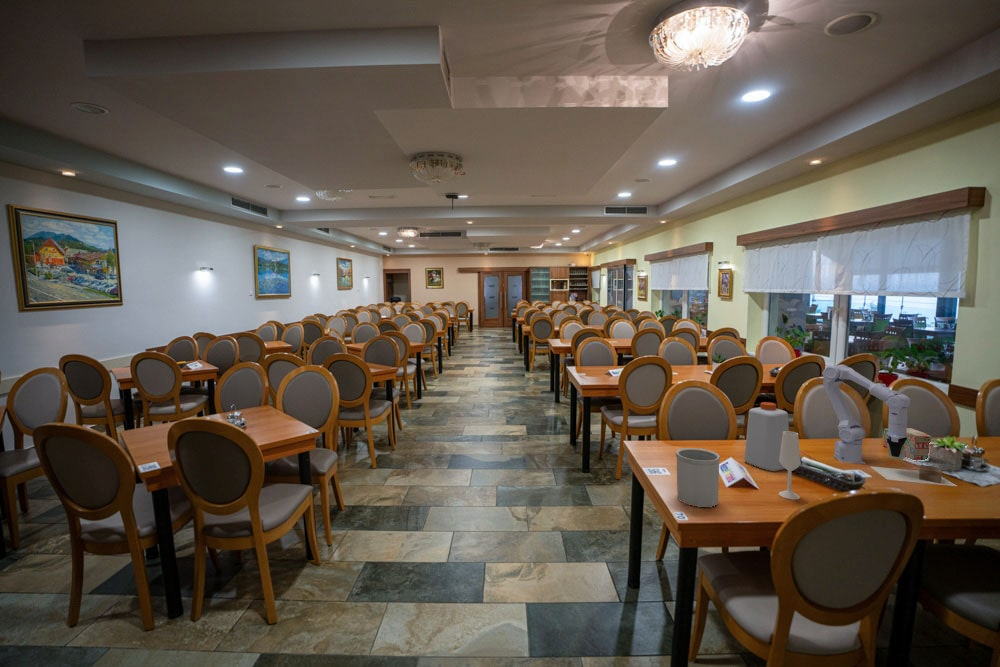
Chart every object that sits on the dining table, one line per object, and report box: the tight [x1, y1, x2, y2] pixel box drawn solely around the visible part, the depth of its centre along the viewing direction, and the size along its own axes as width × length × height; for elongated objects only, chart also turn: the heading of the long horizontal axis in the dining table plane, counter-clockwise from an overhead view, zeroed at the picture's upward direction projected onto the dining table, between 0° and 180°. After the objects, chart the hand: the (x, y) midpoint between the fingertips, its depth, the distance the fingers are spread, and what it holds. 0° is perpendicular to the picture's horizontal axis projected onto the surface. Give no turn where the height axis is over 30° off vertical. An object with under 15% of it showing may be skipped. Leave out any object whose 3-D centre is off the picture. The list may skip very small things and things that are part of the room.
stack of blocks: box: [882, 427, 932, 461], centre depth 203 cm, size 21×6×12 cm, turn 168°
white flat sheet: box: [869, 466, 958, 487], centre depth 177 cm, size 22×15×1 cm
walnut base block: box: [918, 464, 943, 485], centre depth 173 cm, size 6×6×4 cm
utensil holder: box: [675, 447, 721, 508], centre depth 159 cm, size 15×15×18 cm
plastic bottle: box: [744, 401, 790, 472], centre depth 192 cm, size 15×15×28 cm
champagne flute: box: [778, 430, 802, 500], centre depth 161 cm, size 7×7×24 cm
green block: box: [887, 445, 906, 461], centre depth 180 cm, size 5×5×5 cm
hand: (896, 455), depth 180 cm, fingers closed on green block, 5 cm apart
